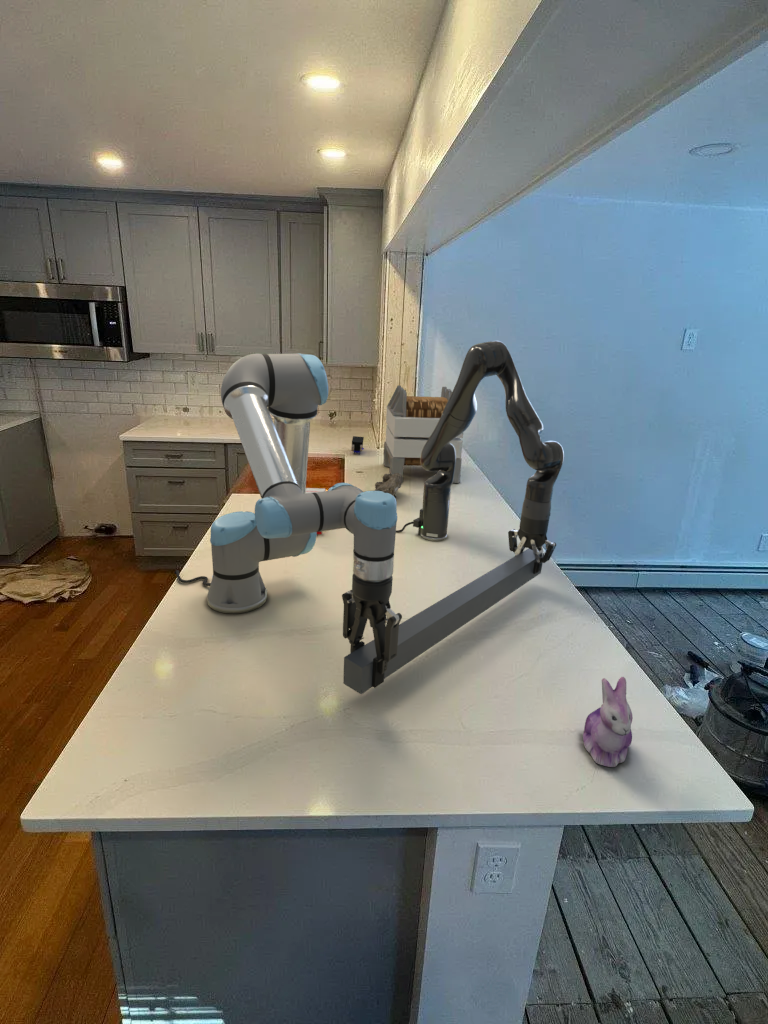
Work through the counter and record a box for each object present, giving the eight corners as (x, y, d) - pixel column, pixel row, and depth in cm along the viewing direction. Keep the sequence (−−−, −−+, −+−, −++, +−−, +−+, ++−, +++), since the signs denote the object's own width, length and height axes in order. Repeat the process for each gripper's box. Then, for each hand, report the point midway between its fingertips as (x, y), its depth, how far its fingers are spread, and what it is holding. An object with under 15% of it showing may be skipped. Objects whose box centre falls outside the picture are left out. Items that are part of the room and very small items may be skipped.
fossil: (371, 479, 247) (398, 460, 242) (384, 495, 250) (412, 477, 245) (364, 500, 227) (394, 480, 222) (379, 517, 230) (409, 498, 225)
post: (525, 567, 165) (528, 548, 163) (541, 572, 162) (544, 553, 160) (343, 683, 112) (343, 657, 110) (361, 694, 109) (362, 667, 107)
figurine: (610, 778, 98) (627, 706, 93) (567, 739, 106) (580, 672, 101) (647, 760, 102) (665, 691, 97) (603, 725, 110) (617, 659, 105)
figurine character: (363, 457, 303) (363, 448, 316) (363, 444, 300) (364, 435, 313) (350, 457, 303) (351, 447, 316) (351, 444, 299) (352, 434, 313)
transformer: (382, 463, 289) (386, 382, 275) (445, 464, 293) (451, 384, 279) (390, 482, 257) (394, 392, 243) (460, 483, 261) (468, 394, 247)
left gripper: (324, 564, 108) (323, 666, 116) (396, 598, 97) (388, 708, 106) (352, 553, 114) (348, 651, 122) (423, 584, 103) (414, 689, 111)
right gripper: (505, 509, 156) (497, 565, 162) (553, 524, 147) (543, 583, 153) (518, 503, 161) (511, 557, 167) (566, 517, 152) (556, 574, 159)
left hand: (367, 677), depth 114 cm, fingers closed on post, 5 cm apart
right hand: (526, 569), depth 160 cm, fingers closed on post, 5 cm apart
